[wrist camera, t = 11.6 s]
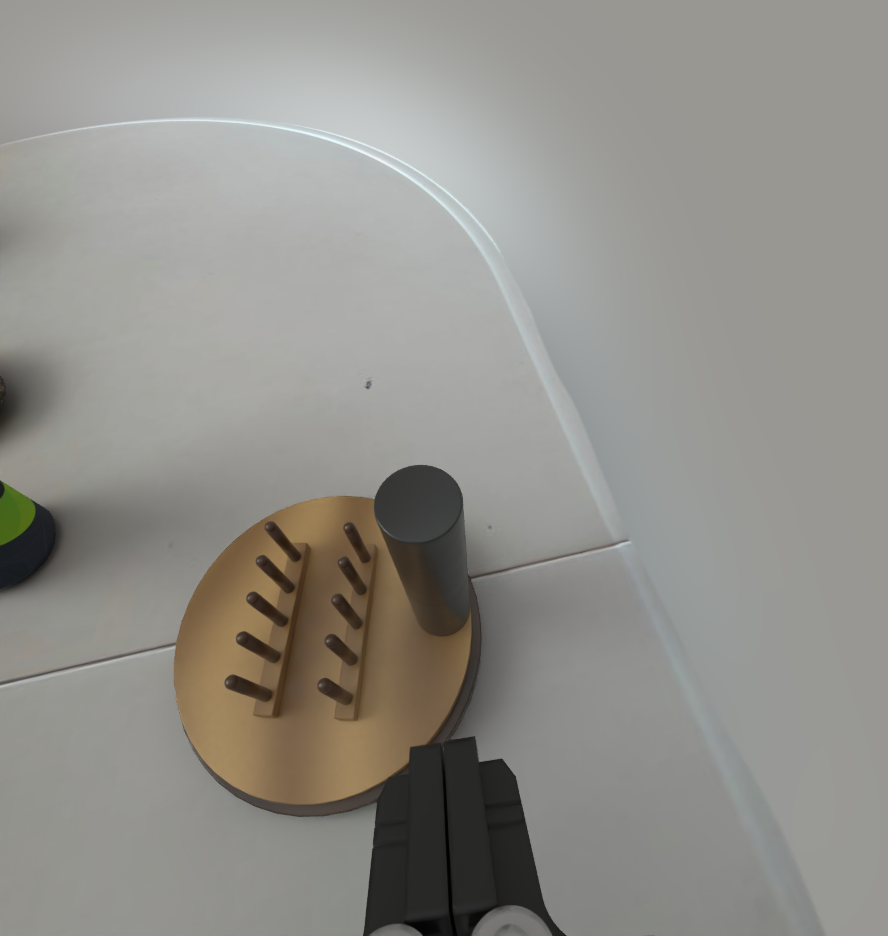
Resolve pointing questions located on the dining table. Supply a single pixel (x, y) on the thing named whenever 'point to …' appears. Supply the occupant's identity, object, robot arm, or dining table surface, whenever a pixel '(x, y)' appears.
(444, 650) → the dish rack
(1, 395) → the stone
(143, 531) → the dining table surface
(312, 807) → the base
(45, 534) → the beverage can
